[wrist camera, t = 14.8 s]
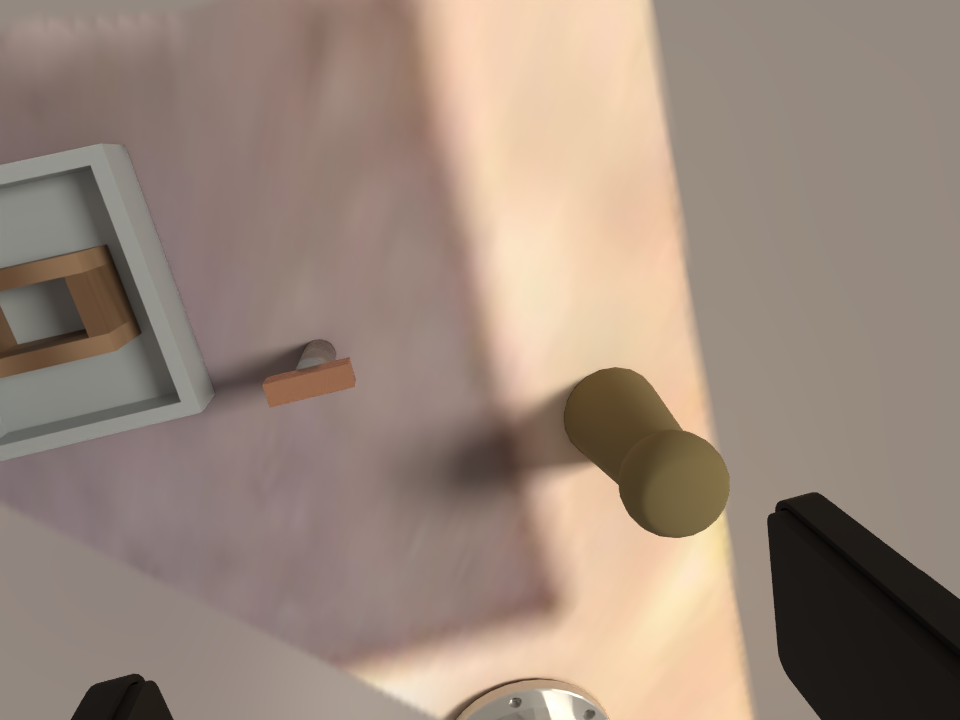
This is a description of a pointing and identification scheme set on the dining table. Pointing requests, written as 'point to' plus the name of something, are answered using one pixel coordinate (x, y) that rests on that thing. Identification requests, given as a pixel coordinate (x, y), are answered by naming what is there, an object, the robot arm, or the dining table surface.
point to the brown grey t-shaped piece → (311, 376)
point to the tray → (52, 311)
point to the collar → (95, 302)
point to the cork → (647, 453)
